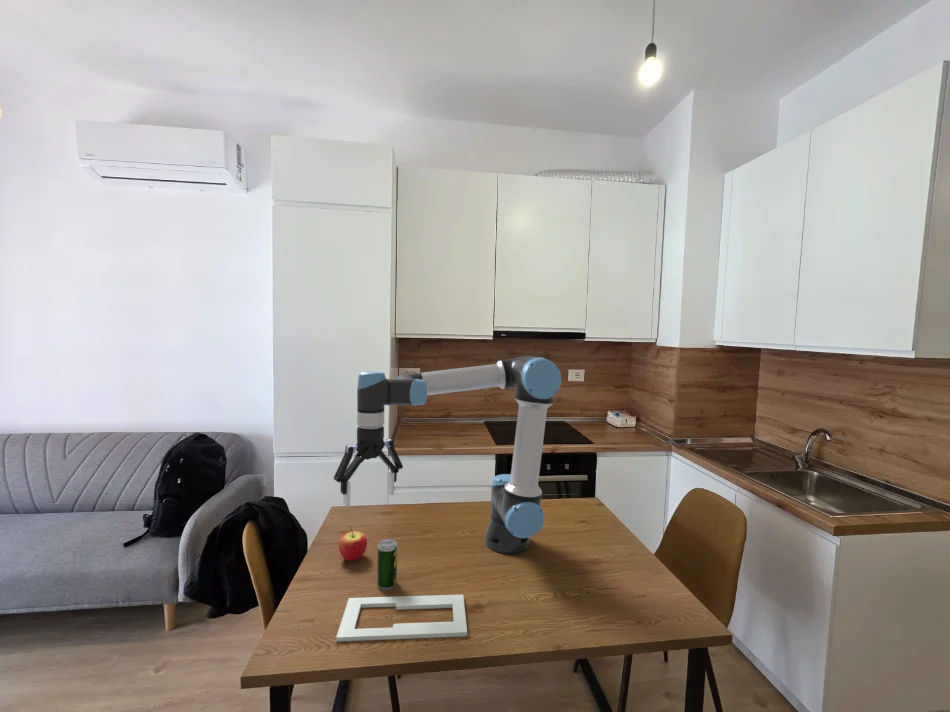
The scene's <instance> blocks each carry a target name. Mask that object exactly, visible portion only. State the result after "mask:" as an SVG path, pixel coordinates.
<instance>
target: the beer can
mask: <svg viewBox="0 0 950 712" xmlns="http://www.w3.org/2000/svg"><path fill="white" fill-rule="evenodd" d="M376 565H377V568H376V569H377V570H376V572H377V573H376V584H377V586H378V588H379V589H380V590H384V591H386V590H387V591H388V590H391V589H393V588H395V586H397V585H396V584H397V579H398V577H397V576H398V544H397V540H396V539H393V538H384V539H382V540H380V541H379V542H378V545H377V564H376Z"/></svg>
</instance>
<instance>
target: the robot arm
mask: <svg viewBox="0 0 950 712" xmlns="http://www.w3.org/2000/svg"><path fill="white" fill-rule="evenodd" d="M561 386H562V374H561V371H560V369H559V368H558V366H557V365H556V364H555V363H554V362H553V361H551V360H549V359H547V358H546V357H541V356H533V355H523V356H518V357H514V358H508V359H502V360H501V359H500V360H498V361H497V362H496V363H493V364H484V365H477V366H468V367H459V368H450V369H449V368H448V369H441V370H433V371H432V370H431V371H424V372H417V373H416V372H415V373H408V372H407V373H402V374H400V375H398V376H397V377H396V378H387V377H386V374H385V372H383V371H375V370H374V371H373V370H372V371H362V372H360V373H359V374H358V376H357V388H356V390H357V393H356V396H357V402H356V403H357V405H356V406H357V409H356V410H357V411H356V419H357V420H356V424H357V428H356V444H355V445H349V444H346V445H345V449H344V450H345V451H344V455H343V457H342V459H341V461H340V463H339V465H338V467H337V470H336V472H335V474H334V477H333V480H334V481H336V482H337V483H340V494H342V495H343V504H344V506H346V507H350V506H351V482H350V481H349V480H350V479H351V478H352V476H353V475H354V474H355V472H356V471H357V469H358V468H359V466H360V465H361V463H363V462H364V461H365V460H366V461H367V460H371V459H377V457H379V459H381V461H382V462H383V463H384V464H385V465H386V466H387V468H389V470H387V485H386V487H387V488H386V490H387V491H386V493H388V494H389V495H391V496H393V495H395V483H396V482H397V479H398V478H397V476H398V475H397V474H398V473H399V471H400V470H402V469H403V467H404V466H403V465H404V464H403V463H402V461H401V459H400V457H399V455H398V453H397V450H396V448H395V443H394V440H393V439H391V438H387V439H386V440H384V438H385V427H384V425H385V407H386V406H414V407H416V406H424V405H426V403H427V399H428V398H427V397H428V396H433V395H434V396H435V395H442V394H451V393H457V392H467V391H473V390H474V391H475V390H481V389H482V390H483V389H490V388H500V389H501V390H507V389H515V394H514V395H515V396H514V400H515V402H517V404H518V409H517V410H518V412H517V418H516V419H517V420H516V427H515V435H514V445H513V454H512V461H511V470H510V473H509V474H508V473H501V474H498V475H495V476H493V477H492V479H491V480H492V481H491V485H490V487H491V492H490V493H491V494H490V495H491V499H490V518H489V519H490V520H489V522H488V526H487V528H486V531H485V534H484V543H485V545H486V546H487V547H488V548H489V549H490V550H492V551H495V552H498V553H501V554H502V553H503V554H510V555H511V554H518V553H522V552H524V551H526V550H527V549H528V548H529V546H530V538H532V537H533V536H535V535H536V534H537V533H540V531H541V530H542V528H543V527H544V523H545V513H544V510H543V507H541V506H542V499H543V498H542V496H543V491H542V489H541V487H540V486H539V479H540V470H541V463H542V462H541V461H542V455H543V446H544V439H545V438H544V437H545V429H546V422H547V414H548V412H547V411H548V409H549V408H550V407H551V406H553V404H554V398H555V395H556V394H557V393H558V392H559V390H560V388H561ZM385 447H386V449H387V451H388V453H389V455H390V458H391V459H392V461H391V460H390V459H389V458H388V457H387V455H386V454H385V453H384V451H383V449H384V448H385ZM355 453H356V454H355ZM354 454H355V455H354ZM353 455H354V458H353ZM352 458H353V459H352Z"/></svg>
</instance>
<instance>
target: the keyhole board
mask: <svg viewBox="0 0 950 712" xmlns="http://www.w3.org/2000/svg"><path fill="white" fill-rule="evenodd" d="M464 597H465V596H464V594H441V595H439V594H437V595H434V594H433V595H409V596H408V595H407V596H406V595H404V596H403V595H401V596H400V595H399V596H378V597H376V596H375V597H374V596H372V597H371V596H370V597H349V598H348V599H347V603H346V607H345V610H344V612H343V615H342V618H341V620H340V621H341V622H340V624H339V628H338V631H337V634H336V636H335V639H336V642H358V641H360V642H361V641H362V642H363V641H382V640H383V641H384V640H405V639H406V640H408V639H410V640H411V639H430V638H431V639H432V638H433V639H434V638H435V639H437V638H454V637H455V638H456V637H459V638H460V637H468V627H467V620H466V619H467V618H466V617H467V616H466V609H465V599H464ZM391 607H395V610H398V611H399V610H423V609H424V610H425V609H426V610H429V609H430V610H431V609H451V608H452V619H453V620H452V621H435V622H433V621H432V622H430V621H429V622H404V623H403V622H402V623H401V622H400V623H393V624H392V627H374V628H373V627H371V628H370V627H368V628H367V627H366V628H356V627H357V624H358V619H359V615H360V612H361V609H362V608H364V609H365V608H391Z"/></svg>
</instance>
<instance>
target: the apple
mask: <svg viewBox="0 0 950 712" xmlns="http://www.w3.org/2000/svg"><path fill="white" fill-rule="evenodd" d="M349 528H350V531H348V532H346V533H344V534H343V535H342V536H341V537H340V539H339V542H338V548H339V549H338V550H339V553H340V555H341V557H342V558H343V559H344V560H346V561H348V562H354V561H358V560H360V559H361V558H363V556H364V554H365V552H366V551H367V547H368V538H367V536H366V535H365V534H364V533H363V532H361V531H358V530H353V529H352V526H351V525H349Z"/></svg>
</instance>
